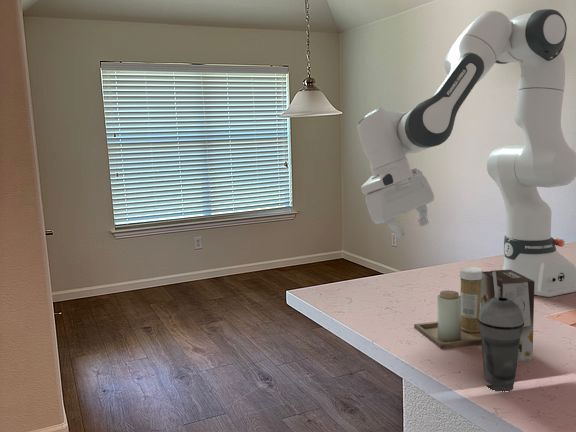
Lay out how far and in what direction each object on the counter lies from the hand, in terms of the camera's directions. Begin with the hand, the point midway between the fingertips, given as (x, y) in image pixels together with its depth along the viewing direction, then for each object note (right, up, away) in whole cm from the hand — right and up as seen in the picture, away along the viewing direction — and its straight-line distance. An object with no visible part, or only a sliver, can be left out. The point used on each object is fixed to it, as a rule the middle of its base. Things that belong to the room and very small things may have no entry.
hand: (413, 230), depth 124 cm
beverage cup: (+6, -26, -35) cm, 44 cm away
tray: (+7, -22, -13) cm, 27 cm away
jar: (+3, -22, -16) cm, 28 cm away
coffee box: (+12, -24, -23) cm, 36 cm away
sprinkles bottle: (+10, -21, -12) cm, 26 cm away
